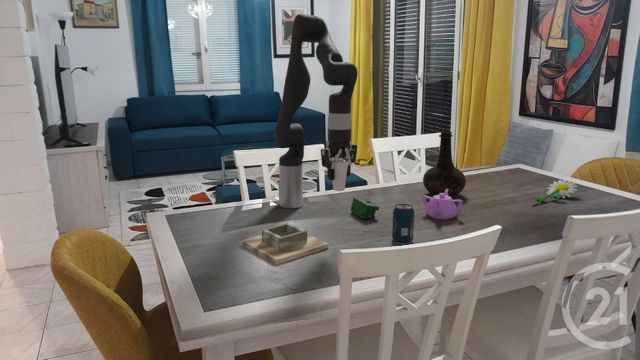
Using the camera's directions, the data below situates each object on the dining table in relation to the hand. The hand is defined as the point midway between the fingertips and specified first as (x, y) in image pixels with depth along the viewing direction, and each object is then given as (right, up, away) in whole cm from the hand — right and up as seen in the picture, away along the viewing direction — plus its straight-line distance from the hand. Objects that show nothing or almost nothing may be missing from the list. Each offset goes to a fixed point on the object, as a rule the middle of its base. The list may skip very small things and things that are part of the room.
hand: (338, 177), depth 165 cm
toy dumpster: (+11, -14, +29) cm, 35 cm away
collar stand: (-18, -22, -1) cm, 28 cm away
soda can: (+21, -21, +3) cm, 30 cm away
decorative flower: (+91, -9, +49) cm, 104 cm away
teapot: (+40, -15, +28) cm, 51 cm away
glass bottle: (+48, -7, +56) cm, 74 cm away
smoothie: (0, -4, +1) cm, 4 cm away
